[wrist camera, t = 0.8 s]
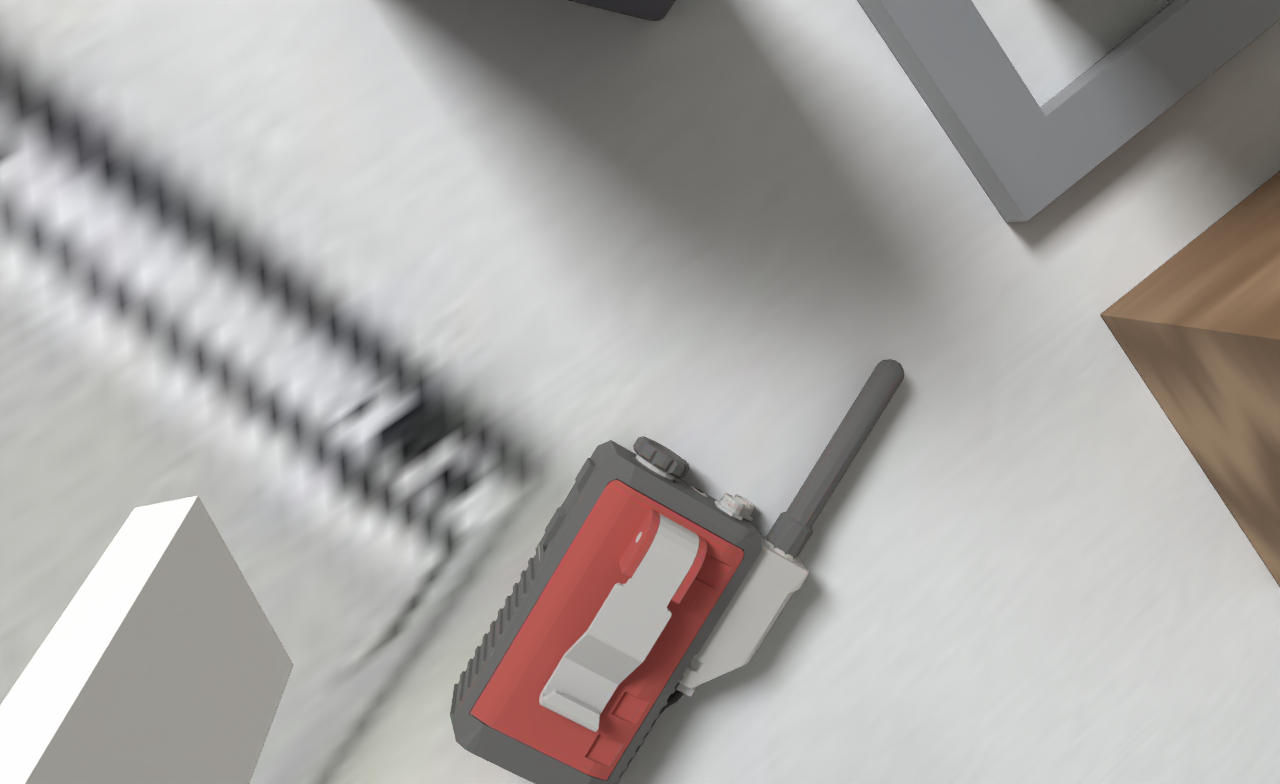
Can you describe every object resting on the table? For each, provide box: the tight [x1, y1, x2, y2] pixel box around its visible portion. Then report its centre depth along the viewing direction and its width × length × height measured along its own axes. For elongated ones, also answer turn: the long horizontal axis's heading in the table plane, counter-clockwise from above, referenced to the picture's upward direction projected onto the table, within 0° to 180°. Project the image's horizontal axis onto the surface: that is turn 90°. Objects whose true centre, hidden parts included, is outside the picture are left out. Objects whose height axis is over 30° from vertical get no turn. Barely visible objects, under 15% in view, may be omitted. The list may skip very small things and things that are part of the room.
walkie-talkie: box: [450, 359, 904, 784], centre depth 34 cm, size 9×4×20 cm
